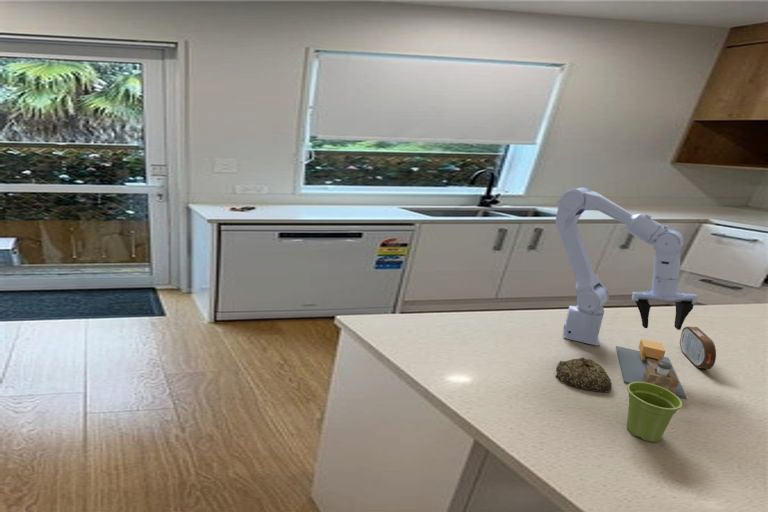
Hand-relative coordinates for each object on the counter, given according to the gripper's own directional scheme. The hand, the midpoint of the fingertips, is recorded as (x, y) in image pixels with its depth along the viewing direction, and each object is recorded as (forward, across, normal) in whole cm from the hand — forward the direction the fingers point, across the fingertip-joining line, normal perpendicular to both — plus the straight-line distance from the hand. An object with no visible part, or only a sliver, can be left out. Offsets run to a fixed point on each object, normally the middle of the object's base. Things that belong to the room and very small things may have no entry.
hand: (661, 327), depth 118 cm
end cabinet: (+10, -4, -14) cm, 18 cm away
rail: (+10, -3, -4) cm, 11 cm away
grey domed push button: (+8, -4, -14) cm, 17 cm away
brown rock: (+9, -22, -16) cm, 28 cm away
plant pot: (+11, -13, -34) cm, 38 cm away
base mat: (+10, -4, -5) cm, 12 cm away
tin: (+11, +11, +7) cm, 17 cm away
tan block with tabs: (+10, -2, 0) cm, 10 cm away
